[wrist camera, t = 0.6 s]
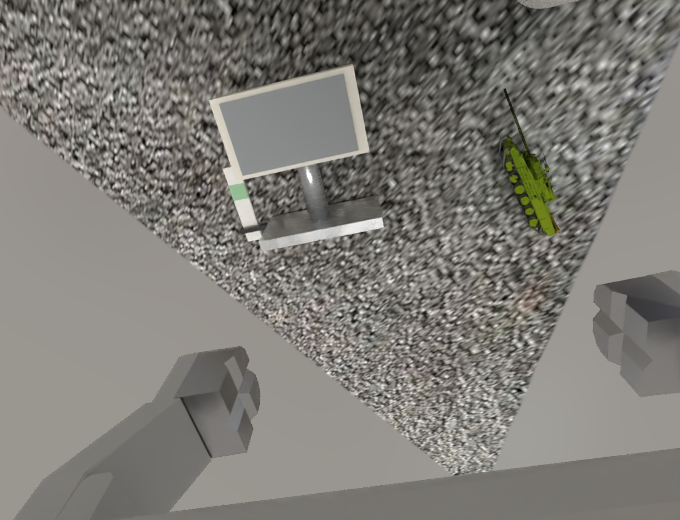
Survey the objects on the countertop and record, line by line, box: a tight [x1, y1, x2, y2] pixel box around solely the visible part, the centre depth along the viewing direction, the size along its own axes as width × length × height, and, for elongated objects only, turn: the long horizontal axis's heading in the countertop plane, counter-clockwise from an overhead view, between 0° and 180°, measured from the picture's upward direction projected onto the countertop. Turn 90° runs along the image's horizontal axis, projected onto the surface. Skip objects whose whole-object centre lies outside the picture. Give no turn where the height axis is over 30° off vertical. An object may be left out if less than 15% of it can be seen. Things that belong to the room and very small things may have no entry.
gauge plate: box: [240, 163, 383, 251], centre depth 47 cm, size 11×18×8 cm, turn 103°
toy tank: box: [499, 88, 560, 236], centre depth 47 cm, size 7×19×10 cm
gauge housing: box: [209, 64, 369, 241], centre depth 46 cm, size 18×18×10 cm
